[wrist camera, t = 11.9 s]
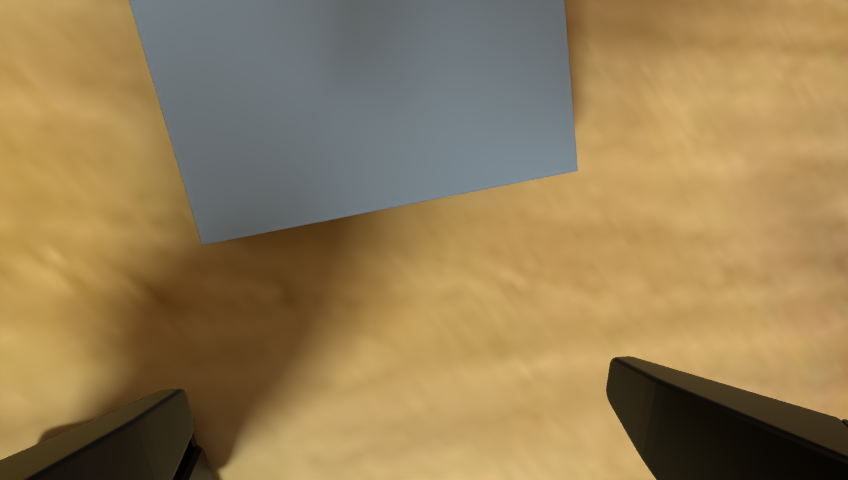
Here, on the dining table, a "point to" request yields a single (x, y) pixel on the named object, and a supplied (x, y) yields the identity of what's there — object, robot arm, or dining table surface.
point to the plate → (355, 103)
